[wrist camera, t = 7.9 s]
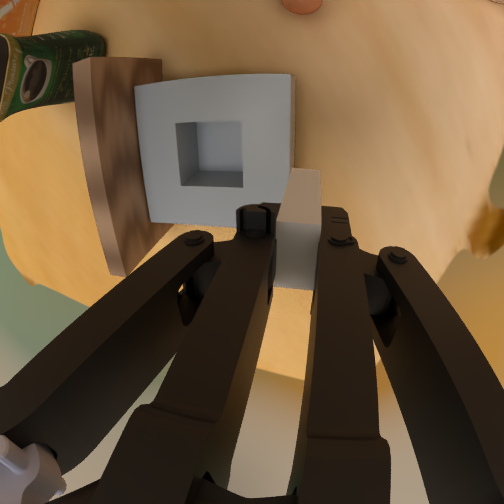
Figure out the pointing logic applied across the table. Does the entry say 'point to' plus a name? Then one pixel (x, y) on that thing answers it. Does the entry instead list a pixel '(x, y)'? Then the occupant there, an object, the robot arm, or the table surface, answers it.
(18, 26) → the small box
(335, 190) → the table surface
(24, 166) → the table surface
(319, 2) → the dowel
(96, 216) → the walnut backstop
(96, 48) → the coffee jar
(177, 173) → the socket block
